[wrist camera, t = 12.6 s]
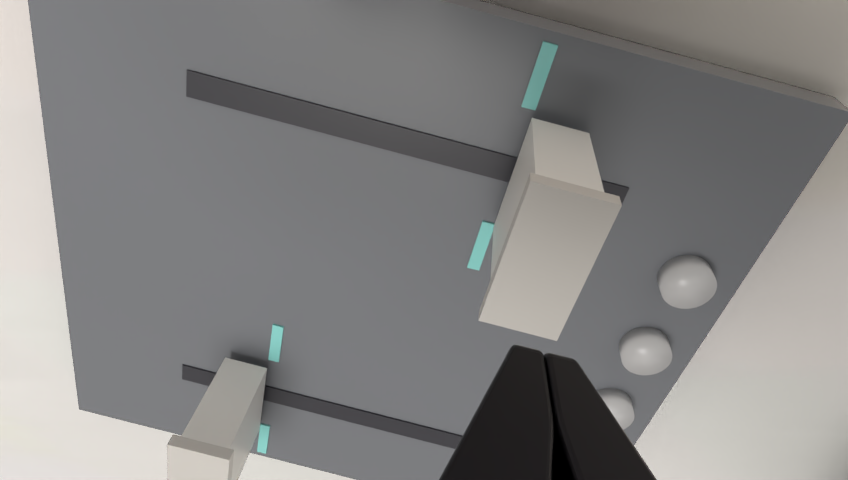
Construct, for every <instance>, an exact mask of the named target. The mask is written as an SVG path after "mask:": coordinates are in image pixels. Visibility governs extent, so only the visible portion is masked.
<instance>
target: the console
mask: <svg viewBox="0 0 848 480" xmlns="http://www.w3.org/2000/svg"><path fill="white" fill-rule="evenodd" d="M28 5H29V13H30V21H31V29H32V37H33V45H34V53H35V61H36V69H37V77H38V85H39V93H40V101H41V109H42V117H43V125H44V133H45V141H46V149H47V157H48V165H49V173H50V181H51V189H52V197H53V205H54V213H55V221H56V229H57V237H58V245H59V253H60V261H61V269H62V277H63V285H64V293H65V301H66V309H67V317H68V325H69V333H70V341H71V349H72V357H73V364H74V372H75V380H76V388H77V396H78V404H79V409H80V410H84V411H88V412H92V413H96V414H100V415H104V416H108V417H112V418H116V419H120V420H123V421H127V422H131V423H135V424H139V425H143V426H147V427H151V428H155V429H159V430H163V431H167V432H171V433H175V434H179V435H182V434H183V432H184V430H185V428H186V427H187V425H188V423H189V421H190V420H191V418H192V416H193V414H194V412H195V411H196V409H197V407H198V405H199V403H200V402H201V400H202V398H203V396H204V395H205V393H206V391H207V389H208V387H209V386H210V384H211V382H212V380H213V378H214V377H215V375H216V373H217V371H218V370H219V368H220V366H221V364H222V362H223V361H224V359H225V358H229V359H233V360H237V361H241V362H245V363H249V364H253V365H257V366H261V367H264V368H267V373H266V381H265V389H264V397H263V405H262V413H261V421H260V430H259V432H258V434H257V436H256V439H255V441H254V443H253V446H252V448H251V450H250V453H254V454H258V455H262V456H266V457H270V458H274V459H277V460H281V461H285V462H289V463H293V464H297V465H301V466H305V467H309V468H313V469H317V470H321V471H325V472H329V473H333V474H337V475H341V476H345V477H349V478H353V479H356V480H439V479H440V477H441V475H442V473H443V471H444V469H445V468H446V466H447V464H448V462H449V460H450V458H451V456H452V455H453V453H454V451H455V449H456V447H457V445H458V443H459V442H460V440H461V438H462V436H463V434H464V432H465V431H466V429H467V427H468V425H469V423H470V421H471V419H472V418H473V416H474V414H475V412H476V410H477V408H478V407H479V405H480V403H481V401H482V399H483V397H484V395H485V394H486V392H487V390H488V388H489V386H490V384H491V383H492V381H493V379H494V377H495V375H496V373H497V371H498V370H499V368H500V366H501V364H502V362H503V360H504V358H505V357H506V355H507V353H508V351H509V349H510V348H511V346H513V345H515V344H516V345H521V346H525V347H529V348H533V349H537V350H540V351H541V352H542V353H543V355H544V354H546V353H553V354H557V355H561V356H565V357H569V358H572V359H574V360H576V361H577V362H578V363H579V365H580V366H581V368H582V369H583V371H584V372H585V374H586V375H587V377H588V378H589V380H590V381H591V383H592V384H593V386H594V387H595V389H596V390H597V392H598V393H599V395H600V396H601V398H602V399H603V401H604V402H605V403H606V405H607V406H608V408H609V409H610V411H611V412H612V414H613V415H614V417H615V418H616V420H617V421H618V423H619V424H620V426H621V427H622V429H623V430H624V432H625V433H626V435H627V436H628V438H629V439H630V441H631V442H632V444H633V445H634V444H635V443H636V441H637V440H638V438H639V437H640V435H641V434H642V432H643V431H644V429H645V428H646V426H647V425H648V423H649V422H650V420H651V419H652V417H653V416H654V414H655V413H656V411H657V410H658V408H659V407H660V405H661V404H662V402H663V401H664V399H665V398H666V396H667V395H668V393H669V392H670V390H671V389H672V387H673V386H674V384H675V383H676V381H677V380H678V378H679V377H680V375H681V373H682V372H683V370H684V369H685V367H686V366H687V364H688V363H689V361H690V360H691V358H692V357H693V355H694V354H695V352H696V351H697V349H698V348H699V346H700V345H701V343H702V342H703V340H704V339H705V337H706V336H707V334H708V333H709V331H710V330H711V328H712V327H713V325H714V324H715V322H716V321H717V319H718V318H719V316H720V315H721V313H722V312H723V310H724V309H725V307H726V306H727V304H728V302H729V301H730V299H731V298H732V296H733V295H734V293H735V292H736V290H737V289H738V287H739V286H740V284H741V283H742V281H743V280H744V278H745V277H746V275H747V274H748V272H749V271H750V269H751V268H752V266H753V265H754V263H755V262H756V260H757V259H758V257H759V256H760V254H761V253H762V251H763V250H764V248H765V247H766V245H767V244H768V242H769V241H770V239H771V238H772V236H773V235H774V233H775V232H776V230H777V228H778V227H779V225H780V224H781V222H782V221H783V219H784V218H785V216H786V215H787V213H788V212H789V210H790V209H791V207H792V206H793V204H794V203H795V201H796V200H797V198H798V197H799V195H800V194H801V192H802V191H803V189H804V188H805V186H806V185H807V183H808V182H809V180H810V179H811V177H812V176H813V174H814V173H815V171H816V170H817V168H818V167H819V165H820V164H821V162H822V161H823V159H824V157H825V156H826V154H827V153H828V151H829V150H830V148H831V147H832V145H833V144H834V142H835V141H836V139H837V138H838V136H839V135H840V133H841V132H842V130H843V129H844V127H845V126H846V124H847V123H848V108H847V107H846V106H844V105H843V104H842V103H841V102H839V101H838V100H837V99H836V98H834V97H832V96H828V95H825V94H821V93H817V92H814V91H810V90H806V89H803V88H799V87H795V86H792V85H788V84H784V83H781V82H777V81H773V80H770V79H766V78H762V77H759V76H755V75H751V74H748V73H744V72H740V71H737V70H733V69H729V68H726V67H722V66H718V65H715V64H711V63H707V62H704V61H700V60H696V59H693V58H689V57H685V56H682V55H678V54H674V53H671V52H667V51H663V50H660V49H656V48H652V47H649V46H645V45H641V44H638V43H634V42H630V41H627V40H623V39H619V38H616V37H612V36H608V35H605V34H601V33H597V32H594V31H590V30H586V29H583V28H579V27H576V26H572V25H568V24H565V23H561V22H557V21H554V20H550V19H546V18H543V17H539V16H535V15H532V14H528V13H524V12H521V11H517V10H513V9H510V8H506V7H502V6H499V5H495V4H491V3H488V2H484V1H480V0H28ZM532 118H535V119H539V120H542V121H546V122H550V123H554V124H557V125H561V126H565V127H568V128H572V129H576V130H580V131H583V132H587V133H589V134H590V138H591V142H592V146H593V150H594V154H595V158H596V162H597V165H598V169H599V173H600V177H601V181H602V185H603V189H604V192H605V193H609V194H613V195H616V196H619V197H620V200H621V204H622V207H621V209H620V211H619V213H618V215H617V217H616V219H615V221H614V223H613V225H612V227H611V229H610V232H609V234H608V236H607V238H606V240H605V242H604V244H603V246H602V248H601V250H600V252H599V254H598V256H597V259H596V261H595V263H594V265H593V267H592V269H591V271H590V273H589V275H588V277H587V279H586V281H585V284H584V286H583V288H582V290H581V292H580V294H579V296H578V298H577V300H576V302H575V304H574V306H573V309H572V311H571V313H570V315H569V317H568V319H567V321H566V323H565V325H564V327H563V329H562V331H561V334H560V336H559V338H558V340H557V341H555V340H551V339H547V338H543V337H539V336H535V335H532V334H528V333H524V332H520V331H516V330H512V329H509V328H505V327H501V326H497V325H493V324H489V323H486V322H482V321H478V320H479V310H480V307H481V304H482V302H483V299H484V296H485V293H486V291H487V288H488V285H489V283H490V280H491V263H492V244H493V227H494V224H495V221H496V218H497V216H498V213H499V210H500V207H501V204H502V201H503V198H504V196H505V193H506V190H507V187H508V184H509V181H510V179H511V176H512V173H513V170H514V167H515V164H516V161H517V159H518V156H519V153H520V150H521V147H522V144H523V142H524V139H525V136H526V133H527V130H528V127H529V124H530V122H531V119H532Z"/></svg>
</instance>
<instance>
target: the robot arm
mask: <svg viewBox="0 0 848 480" xmlns="http://www.w3.org/2000/svg"><path fill="white" fill-rule="evenodd" d="M439 480H657V479H656V478H655V477H654V475H653V474H652V472H651V471H650V469H649V468H648V466H647V465H646V463H645V462H644V460H643V459H642V457H641V456H640V454H639V453H638V451H637V450H636V448H635V447H634V445H633V444H632V442H631V441H630V439H629V438H628V436H627V435H626V433H625V432H624V430H623V429H622V427H621V426H620V424H619V423H618V421H617V420H616V418H615V417H614V415H613V414H612V412H611V411H610V409H609V408H608V406H607V405H606V403H605V402H604V401H603V399H602V398H601V396H600V395H599V393H598V392H597V390H596V389H595V387H594V386H593V384H592V383H591V381H590V380H589V378H588V377H587V375H586V374H585V372H584V371H583V369H582V368H581V366H580V365H579V363H578V362H577V361H576V360H574V359H572V358H569V357H565V356H561V355H557V354H553V353H546V354H544V355H543V353H542V352H541V351H540V350H537V349H533V348H529V347H525V346H521V345H516V344H515V345H513V346H511V348H510V349H509V351H508V353H507V355H506V357H505V358H504V360H503V362H502V364H501V366H500V368H499V370H498V371H497V373H496V375H495V377H494V379H493V381H492V383H491V384H490V386H489V388H488V390H487V392H486V394H485V395H484V397H483V399H482V401H481V403H480V405H479V407H478V408H477V410H476V412H475V414H474V416H473V418H472V419H471V421H470V423H469V425H468V427H467V429H466V431H465V432H464V434H463V436H462V438H461V440H460V442H459V443H458V445H457V447H456V449H455V451H454V453H453V455H452V456H451V458H450V460H449V462H448V464H447V466H446V468H445V469H444V471H443V473H442V475H441V477H440V479H439Z"/></svg>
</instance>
